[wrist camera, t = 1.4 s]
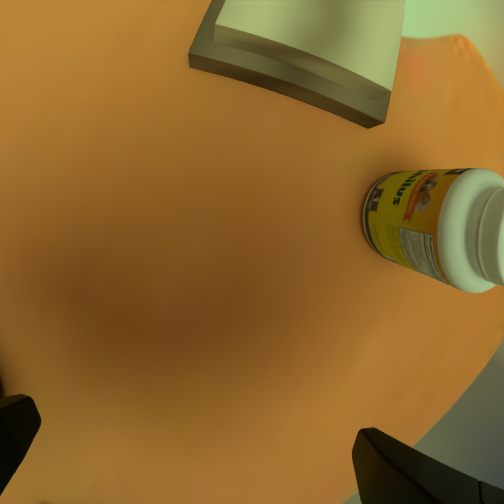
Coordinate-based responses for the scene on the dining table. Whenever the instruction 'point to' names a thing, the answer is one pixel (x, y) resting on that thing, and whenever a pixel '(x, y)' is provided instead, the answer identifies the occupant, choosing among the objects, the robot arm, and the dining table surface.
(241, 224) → the dining table surface
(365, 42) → the stand
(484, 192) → the supplement bottle
